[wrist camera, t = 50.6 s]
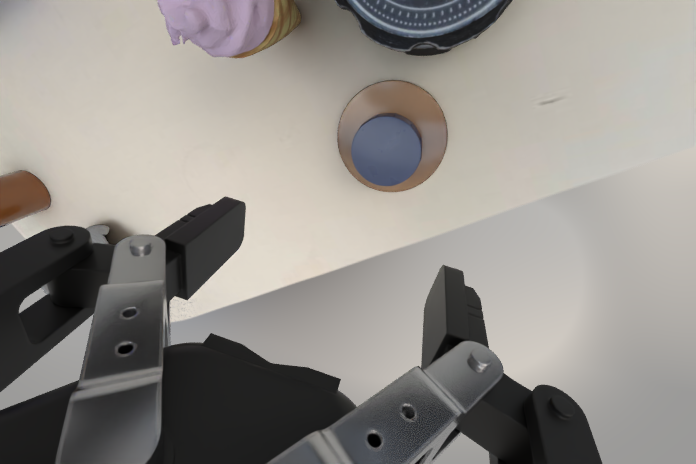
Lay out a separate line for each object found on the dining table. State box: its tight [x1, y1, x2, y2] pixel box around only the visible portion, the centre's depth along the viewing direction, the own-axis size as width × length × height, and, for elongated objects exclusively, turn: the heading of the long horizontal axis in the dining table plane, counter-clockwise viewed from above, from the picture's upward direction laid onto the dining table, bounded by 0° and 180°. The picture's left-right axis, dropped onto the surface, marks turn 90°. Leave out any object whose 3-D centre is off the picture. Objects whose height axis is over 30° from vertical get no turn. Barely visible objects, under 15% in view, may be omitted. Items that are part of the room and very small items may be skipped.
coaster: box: [338, 80, 447, 192], centre depth 31 cm, size 10×10×1 cm
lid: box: [351, 113, 422, 186], centre depth 30 cm, size 6×6×2 cm
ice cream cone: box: [158, 0, 301, 58], centre depth 22 cm, size 7×6×15 cm
